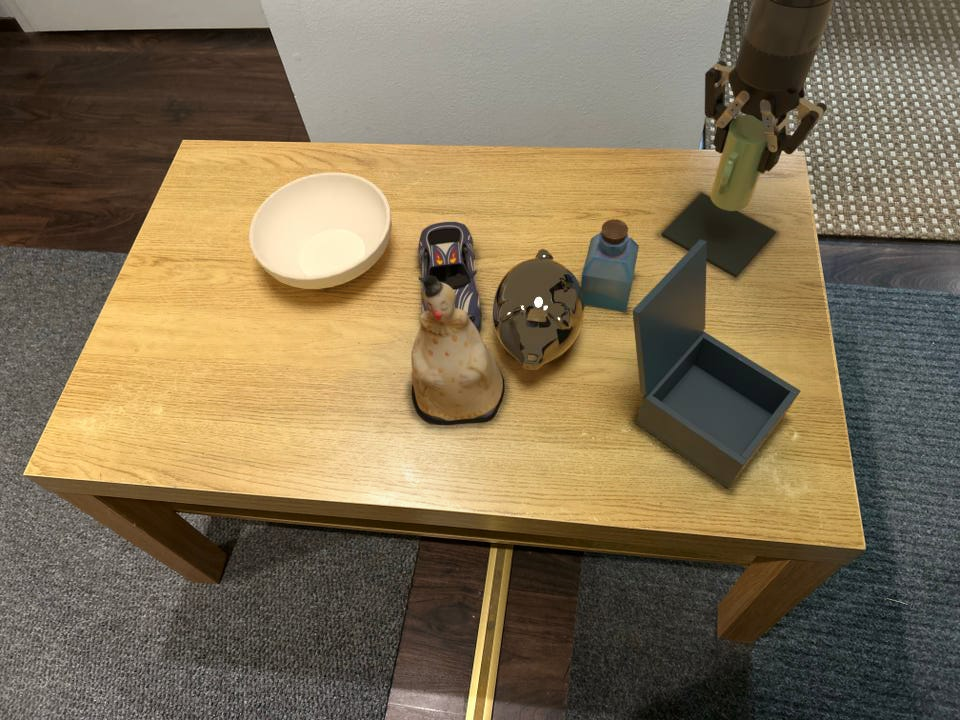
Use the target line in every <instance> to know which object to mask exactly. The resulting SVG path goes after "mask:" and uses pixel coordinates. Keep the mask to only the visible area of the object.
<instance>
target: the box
mask: <svg viewBox="0 0 960 720" xmlns="http://www.w3.org/2000/svg"><path fill="white" fill-rule="evenodd" d="M800 393H801V389H799V388H797V387H795V386H794V385H793V384H790V383H789V382H787V381H786V380H784V379H782V378H781V377H779V376H777V375H776V374H774V373H772V372H771V371H769V370H767V369H766V368H765V367H763V366H761V365H759V364H758V363H756V362H755V361H753V360H752V359H750V358H748V357H746V356H745V355H744V354H741V353H740V352H738V351H737V350H735V349H734V348H732V347H730V346H729V345H727V344H725V343H724V342H722V341H721V340H719V339H717V338H715V337H714V336H712V335H711V334H709V333H707V332H706V331H705V330H704V331H703V332H702V333H701V334H700V335H699V336H698V337H697V339H696V340H695V341H694V342H693V343H692V344H691V345H690V346H689V348H688V349H687V350H686V351H685V352H684V353H683V354H682V356H681V357H680V358H679V359H678V360H677V361H676V362H675V363H674V365H673V366H672V367H671V368H670V369H669V370H668V371H667V373H666V374H665V375H664V376H663V377H662V378H661V379H660V380H659V382H658V383H657V384H656V385H655V386H654V387H653V388H652V389H651V391H650V392H649V393H648V394H647V395H644V394H643V395H642V397H641V398H642V399H641V402H640V406H639V410H638V413H637V418H636V422H635V424H636V425H637V426H639V427H641V428H642V429H643V430H645V431H646V432H647V433H649V434H650V435H652V437H654V438H656V439H657V440H659V441H660V442H662V443H663V444H664V445H666V446H667V447H668V448H670V449H672V451H674V452H675V453H677V454H679V455H680V456H682V457H683V458H684V459H686V460H687V461H688V462H690V463H691V464H693V466H695V467H697V468H698V469H700V470H701V471H702V472H703V473H705V474H706V475H708V476H710V477H711V478H712V479H713V480H715V481H717V482H718V483H720V484H721V485H722V486H724V487H725V488H726V489H730V488H731V486H732V485H733V484H734V482H735V481H736V480H737V479H738V477H739V476H740V475H741V473H742V472H743V471H744V469H745V468H746V467H747V466H748V465H749V463H750V461H751V460H752V459H753V458H754V456H755V455H756V454H757V452H758V451H759V450H760V449H761V447H762V446H763V445H764V443H765V442H766V441H767V440H768V438H769V437H770V436H771V435H772V433H773V432H774V431H775V429H776V428H777V427H778V425H779V424H780V423H781V421H782V420H783V418H784V417H785V416H786V414H787V412H788V411H789V410H790V408H791V407H792V405H793V404H794V402H795V400H796V399H797V397H798V396H799V394H800Z"/></svg>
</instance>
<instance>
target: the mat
mask: <svg viewBox="0 0 960 720" xmlns="http://www.w3.org/2000/svg"><path fill="white" fill-rule="evenodd" d="M776 233H777V230H774V229H772V228H771V227H769V226H767V225H765V224H763V223H761V222H760V221H758V220H755V219H753V218H751V217H750V216H748V215H746V214H744V213H742V212H740V211H727V210H723V209H721V208H719V207H717V206H716V205H715V204H714V203H713V202H712V200H711V197H710V195H707V194H705V193H704V192H700V193H699V195H697V197H695V198H694V200H692V201H691V202H690V204H689V205H688V206H687V207H686V208H685V209H684V210H683V211H682V212H681V213H680V214H679V215H678V216H677V217H675V219H674V220H672V222H671V223H670V224H668V226H667V227H666V228H665V229H664V230H663V231H662V232H661V234H660V235H661V236H662V237H664V238H666V239H667V240H669V241H671V242H672V243H674V244H676V245H678V246H679V247H682V248H683V249H685V250H687V252H688V251H689V250H690V249H691V248H692V247H693V246H694V245H695V244H696V243H697V242H698V241H699V240H700V239H701V240H704V241H706V242H707V257H706V262H708V263H709V264H711V265H713V266H715V267H716V268H719V269H721V270H723V272H726V273H727V274H730V276H733V277H735V278H737V277H738V276H739V275H740V274H741V273H742V272H743V270H744V269H745V268H746V267H747V266H748V265H749V264H750V262H752V261H753V259H754V258H755V257H756V256H757V255H758V253H760V251H761V250H762V249H763V248H764V247H765V246H766V244H767V243H769V242H770V240H772V238H773V237H774V236H775V235H776Z"/></svg>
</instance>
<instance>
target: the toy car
mask: <svg viewBox="0 0 960 720" xmlns="http://www.w3.org/2000/svg"><path fill="white" fill-rule="evenodd" d="M418 257H419V262H420V266H421V276H418V280H419V281H420V282H421V287H422V288H421V293H422V294H421V298H422V299H421V311H422V313H423V312H425V311H428V309H427V307H426V305H425V303H424V300H423V294H424V290H425V286H424V284H423V282H424V281H425V280H426V278H427V277H428V275H431V276H435V277H436V278H437V279H438V281H439V282H442V283H445V284H447V285H449V286H450V287H451V288H452V289H453V290H454V292H455V294H456V299H455V304H454V307H455V308H457V309H462V310H464V311H466V312H467V315H468V317H469V319H470V320H471V322H472V323H473V324H474V325H475V327H476V328H477V330H478V332H479V333H480V332H481V328H482V307H481V299H480V294H479V289H478V283H477V282H478V281H477V276H476V274H478V270H477V269H476V262H475V261H476V260H475V258H476V257H475V248H474V239H473V236H472V233H471V231H470V230H469V227H467V225H466V224H464V223H462V222H458V221H441V222H437V223H432V224H430V225H428V226H426V227H425V228H423V229H422V230H421V233H420V235H419V241H418Z"/></svg>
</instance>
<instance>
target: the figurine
mask: <svg viewBox="0 0 960 720" xmlns="http://www.w3.org/2000/svg"><path fill="white" fill-rule="evenodd" d="M423 284H424V286H425V290H424V294H423V300H424V303H425V305H426V307H427V309H428V311H425V312H422V313H421V314H420V316H419V323H420V326H419V330H418V332H417V334H416V337H415V339H414V341H413V344H412V348H411V352H410V353H411V355H410V358H411V377H412V378H411V379H412V385H411V398H412V403H413V406H414V408H415V411H416V413H417V414H418V416H419V417H420V418H421V419H422V420H423V421H424V422H426V423H428V424H430V425H441V426H455V425H462V424H481V423H488V422H490V421H492V420H493V419H494V418H495V417H496V415H497V413H498V410H499V408H500V406H501V405H502V402H503V399H504V396H505V392H506V391H505V389H506V388H505V387H506V386H505V378H504V376H503V374H502V372H501V371H500V369H499V367H498V365H497V362H496V359H495V357H494V355H493V352H492V351H491V349H490V348H489V347H488V346H487V345H486V343H485V342H484V339H483V338H482V336H481V334H480V331H479V332H478V330H477V328H476V327H475V325H474V324H473V323H472V322H471V320H470V319H469V317H468V315H467V312H466V311H464V310H462V309H457V308H455V307H454V304H455V299H456V294H455V292H454V290H453V289H452V288H451V287H450V286H449V285H447V284H445V283H442V282H439V281H438V279H437V278H436V277H435V276H431V275H428V277H427V278H426V280H425V281H424V282H423Z"/></svg>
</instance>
